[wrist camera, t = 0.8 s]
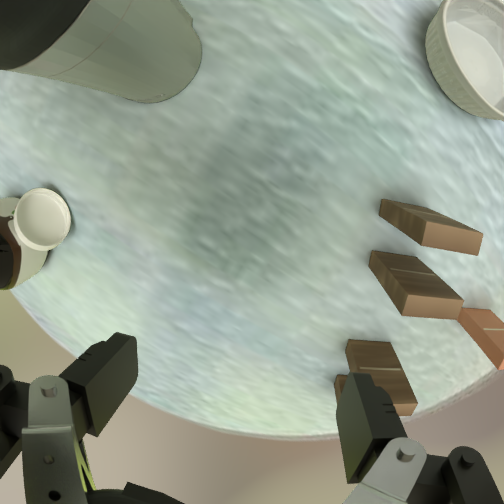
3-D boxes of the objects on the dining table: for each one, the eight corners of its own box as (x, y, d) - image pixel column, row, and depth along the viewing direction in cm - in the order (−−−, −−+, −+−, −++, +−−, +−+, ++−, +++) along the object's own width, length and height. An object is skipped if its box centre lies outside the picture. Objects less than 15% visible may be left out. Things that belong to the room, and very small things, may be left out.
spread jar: (4, 233, 32) (-57, 259, 21) (25, 159, 29) (-47, 171, 18) (59, 286, 33) (-2, 329, 22) (87, 211, 30) (11, 240, 19)
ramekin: (404, 92, 23) (436, 77, 17) (418, -8, 19) (444, -37, 13) (504, 145, 23) (544, 148, 16) (512, 48, 19) (547, 36, 12)
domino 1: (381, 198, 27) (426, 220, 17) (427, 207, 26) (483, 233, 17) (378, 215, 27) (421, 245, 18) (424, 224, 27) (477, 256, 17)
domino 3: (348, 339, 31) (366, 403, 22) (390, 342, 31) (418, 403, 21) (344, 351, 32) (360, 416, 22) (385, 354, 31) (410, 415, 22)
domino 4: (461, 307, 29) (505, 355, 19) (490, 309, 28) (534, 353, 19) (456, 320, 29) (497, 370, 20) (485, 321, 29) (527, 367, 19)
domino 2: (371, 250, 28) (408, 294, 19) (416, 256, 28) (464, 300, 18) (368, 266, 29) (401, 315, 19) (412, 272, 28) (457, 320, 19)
